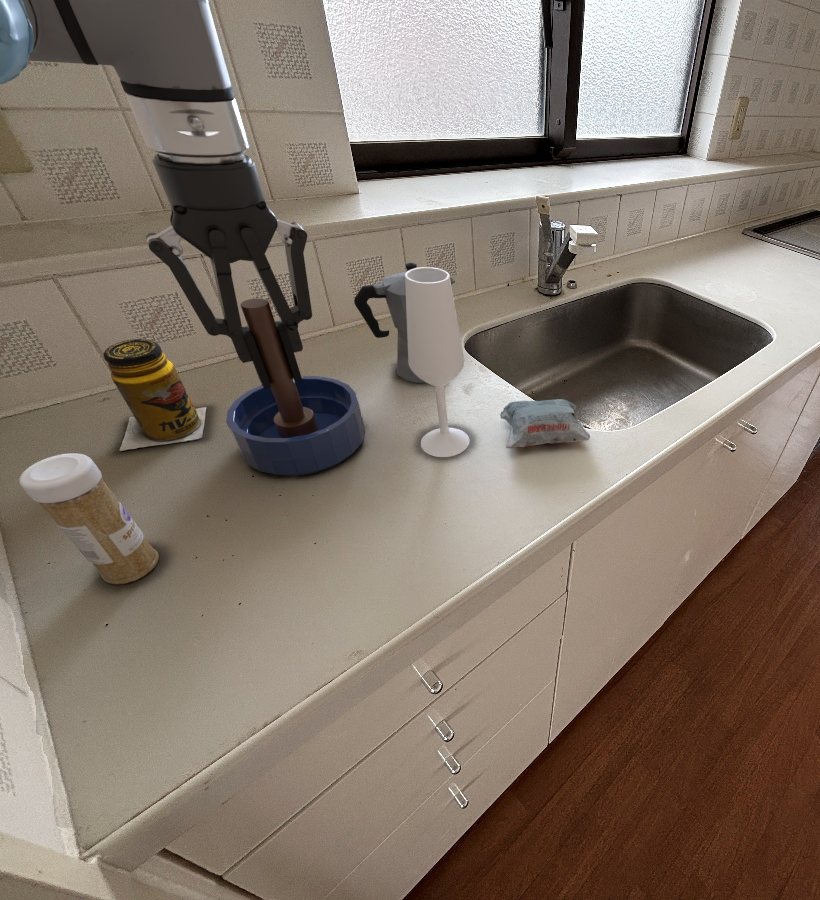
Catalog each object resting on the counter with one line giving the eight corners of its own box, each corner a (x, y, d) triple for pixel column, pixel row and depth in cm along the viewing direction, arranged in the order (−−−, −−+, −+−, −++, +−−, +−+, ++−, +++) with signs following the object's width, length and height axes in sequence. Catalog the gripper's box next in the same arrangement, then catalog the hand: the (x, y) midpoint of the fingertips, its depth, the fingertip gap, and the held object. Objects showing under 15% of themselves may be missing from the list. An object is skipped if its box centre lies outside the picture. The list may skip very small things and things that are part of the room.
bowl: (223, 480, 60) (204, 442, 56) (266, 410, 71) (253, 374, 67) (352, 478, 63) (342, 441, 59) (375, 411, 74) (367, 376, 70)
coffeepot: (448, 348, 90) (439, 247, 79) (473, 372, 85) (467, 268, 74) (361, 369, 82) (336, 259, 71) (382, 397, 77) (360, 284, 65)
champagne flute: (439, 422, 74) (420, 259, 58) (478, 436, 72) (470, 273, 57) (410, 447, 69) (381, 276, 53) (452, 463, 67) (435, 292, 52)
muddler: (275, 445, 62) (222, 311, 51) (287, 424, 66) (239, 293, 54) (313, 445, 63) (269, 313, 52) (323, 424, 66) (284, 295, 55)
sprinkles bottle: (168, 565, 51) (100, 467, 42) (113, 594, 48) (27, 495, 39) (148, 542, 52) (78, 444, 44) (94, 569, 49) (7, 469, 41)
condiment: (202, 439, 65) (161, 358, 58) (119, 452, 62) (65, 368, 54) (207, 408, 70) (170, 330, 62) (130, 419, 67) (82, 337, 59)
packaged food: (588, 451, 72) (591, 424, 69) (506, 458, 69) (505, 430, 66) (574, 417, 79) (577, 390, 76) (499, 422, 75) (498, 394, 72)
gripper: (87, 165, 38) (207, 414, 53) (310, 161, 46) (359, 377, 61) (84, 144, 42) (196, 380, 57) (289, 145, 50) (340, 350, 65)
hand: (280, 378), depth 59 cm, fingers closed on muddler, 3 cm apart
